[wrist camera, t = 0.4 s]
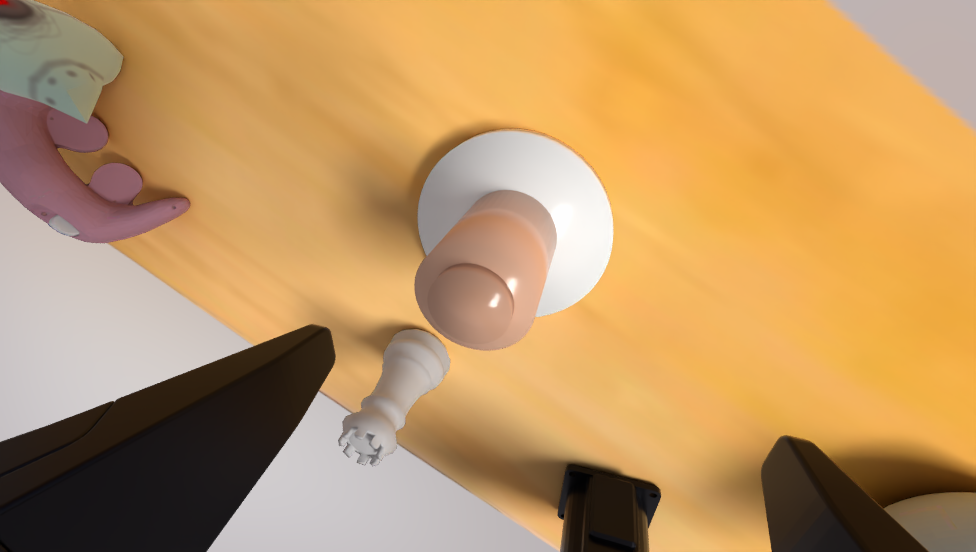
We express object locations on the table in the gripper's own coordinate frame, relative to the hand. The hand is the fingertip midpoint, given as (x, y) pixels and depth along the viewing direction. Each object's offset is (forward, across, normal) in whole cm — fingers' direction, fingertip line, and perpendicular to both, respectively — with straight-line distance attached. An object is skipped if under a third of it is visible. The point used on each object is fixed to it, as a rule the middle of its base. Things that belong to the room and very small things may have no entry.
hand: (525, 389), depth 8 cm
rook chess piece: (+14, +9, +12) cm, 20 cm away
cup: (+12, +3, +2) cm, 13 cm away
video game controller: (+13, +29, +1) cm, 32 cm away
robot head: (+13, +26, -5) cm, 30 cm away
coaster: (+13, +3, +2) cm, 14 cm away
